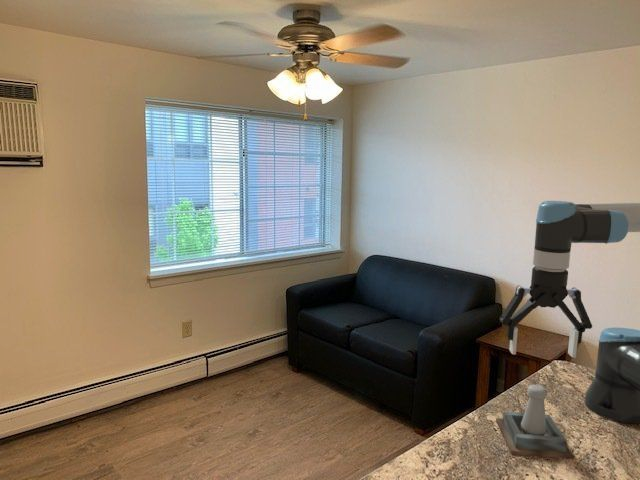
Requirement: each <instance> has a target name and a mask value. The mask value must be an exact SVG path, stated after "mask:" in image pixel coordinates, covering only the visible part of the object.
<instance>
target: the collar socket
mask: <svg viewBox="0 0 640 480" xmlns="http://www.w3.org/2000/svg"><path fill="white" fill-rule="evenodd" d="M524 413H525V412H516V411H514V412H513V411H503V413H502V418H501V417H500V418H497V417H496V418H495V422H496V424H497V426H498V429H499V432H500V433H501V435H502V438H503V439H504V442H505V444H506V446H507V448H508V450H509V453H510V454H511V455H519V456H520V455H521V456H529V457H530V456H531V457H545V458H556V459H567V460H568V459H570V460H574V459H575V458H574V457H575V455H574V453H572V451H571V449H570V448H569V446H568V440H567V439H566V437H565V436H564V434H563V432H561V430H560V428H559V427H558V425H557V424H556V423H555V421H554V420H553V418H552V416H551V415H550V414H545V417H546V427H547V430H546V433H545V434H544V435H543V436H539V435H526V434H524V433H523V430H522V427H521V422H522V419H523V416H524Z"/></svg>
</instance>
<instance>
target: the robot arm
mask: <svg viewBox="0 0 640 480" xmlns="http://www.w3.org/2000/svg"><path fill="white" fill-rule="evenodd" d="M535 221H536V225H535V236H534V247H533V248H534V249H533V257H532V259H533V261H532V265H533V267H532V271H531V280H530V286H529V287H524V286H521V285H517V286H516V288H515V293H514V295H513V296H512V298H511V300H510V301H509V303H508V305H507V306H506V307H505V309H504V310H503V312H502V313H501V316H499V319H498V320H499V321H500V323H501V324H502V325H503V326H506V333H505V334H506V338H507V339H508V341H509V352H510V353H511V354H512V355H517V344H518V333H519V328H518V327H517V325H518V324H519V323H521V321H523V320H524V319H525V318H526V317H527V316H528V315H529V314H530V313H531V312H532V311H533V310H535V309H537V308H538V307H541V308H547V307H549V308H552V309H556V307H558V308H559V309H560V310H561V311H562V313H563V314H564V315H565V316H566V318H567V319H568V321H570V323H571V324H572V325H573V327H572V326H571V327H570V330H569V339H568V347H567V354H568V355H569V356H570V357H572V358H575V359H576V358H577V351H578V350H577V349H578V344H582V339H583V333H585V332H586V330H591V329H592V328H593V325H592V322H591V320H590V317H589V315H588V313H587V309H586V308H585V306H584V303H583V301H582V292H581V290H579V289H578V288H577V287H572V288H571V289H567V286H568V279H569V277H568V276H569V271H568V269H569V268H570V261H571V260H570V259H571V250H572V244H577V243H578V244H579V243H580V244H581V243H583V244H606V245H607V244H612V243H620V242H622V241H623V240H624V239H625V238H626V237H627V235H628V233H640V202H631V203H630V202H624V203H623V202H621V203H620V202H618V203H613V202H611V203H584V204H582V203H577V204H575V203H574V202H572V201H566V200H565V201H562V200H544V201H542V202H540V203H539V205H538V209H537V215H536V220H535ZM528 294H529V295H530V297H529V298H528V299H527V301H525V302H526V303H524V304H523V305H522V306H521V307H520V308H519V309H518V307H519V306H520V304H521V303H522V301H523V300H524V297H526V296H527V295H528ZM567 297H569V298H571V300H572V302H573V304H574V307H575V310H576V312H577V314H578V317H579V318H580V319H579V320H580V321H581V322H580V321H579V320H578V319H577V317H576V316H575V314H574V313H573V312H572V311H571V310H570V309H569V307H568V305H566V303H565V301H564V300H565V299H566V298H567ZM516 310H517V311H516ZM598 339H599V340H598V349H597V359H596V365H595V373H594V377H593V380H592V381H591V383H590V385H589V387H588V388H587V390H586V392H585V393H584V403H585V405H586V407H587V408H588V409H589V410H591V411H592V412H594V413H595V414H597V415H599V416H601V417H604V419H605V418H606V419H609V420H612V421H615V422H620V423H624V424H638V423H637V422H640V329H635V328H627V327H626V328H625V327H607V328H604V329H603V330H601V331H600V336H599V338H598Z"/></svg>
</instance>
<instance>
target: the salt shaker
mask: <svg viewBox="0 0 640 480" xmlns="http://www.w3.org/2000/svg"><path fill="white" fill-rule="evenodd" d="M527 395H528V396H529V398H528V401H527V404H526V407H525V410H524V412H523V413H524V416H523V419H522V422H521V427H522V430H523V433H524V434H526V435H539V436H543V435H544V434H545V433H546V430H547V427H546V417H545V415H546V408H545V399H547V396H548V390H547V389H546V388H545V387H544V386H542V385H539V384H530V385H529V386H528V387H527Z"/></svg>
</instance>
